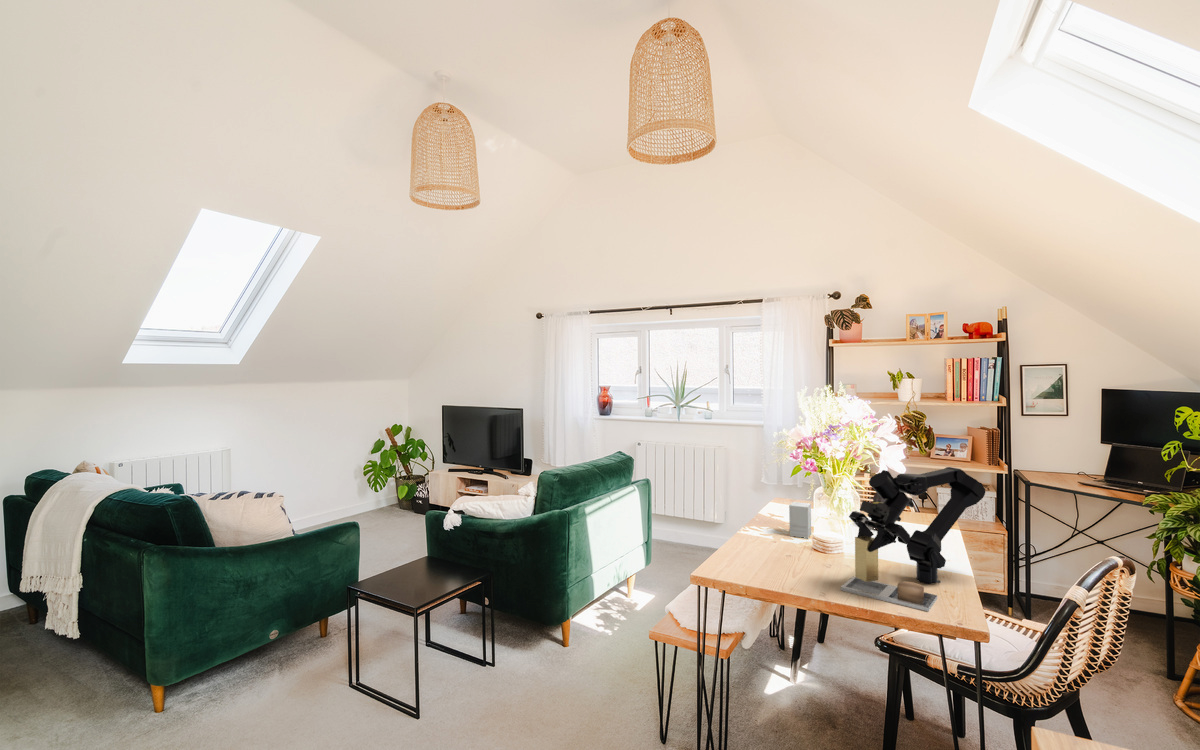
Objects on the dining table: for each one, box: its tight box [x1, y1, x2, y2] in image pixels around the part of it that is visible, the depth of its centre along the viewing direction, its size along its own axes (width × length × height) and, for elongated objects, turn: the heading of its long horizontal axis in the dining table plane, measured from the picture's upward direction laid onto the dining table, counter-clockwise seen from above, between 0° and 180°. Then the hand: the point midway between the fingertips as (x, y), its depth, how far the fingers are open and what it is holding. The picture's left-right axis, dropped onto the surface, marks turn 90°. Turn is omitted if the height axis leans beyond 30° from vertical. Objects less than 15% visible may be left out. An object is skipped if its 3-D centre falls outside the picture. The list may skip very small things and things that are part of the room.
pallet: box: [840, 575, 938, 612], centre depth 165 cm, size 12×23×2 cm, turn 49°
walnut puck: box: [897, 581, 925, 604], centre depth 162 cm, size 7×7×4 cm
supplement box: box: [788, 501, 812, 539], centre depth 229 cm, size 7×7×13 cm
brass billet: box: [854, 536, 879, 582], centre depth 169 cm, size 4×4×12 cm
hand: (862, 548), depth 169 cm, fingers closed on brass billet, 4 cm apart
